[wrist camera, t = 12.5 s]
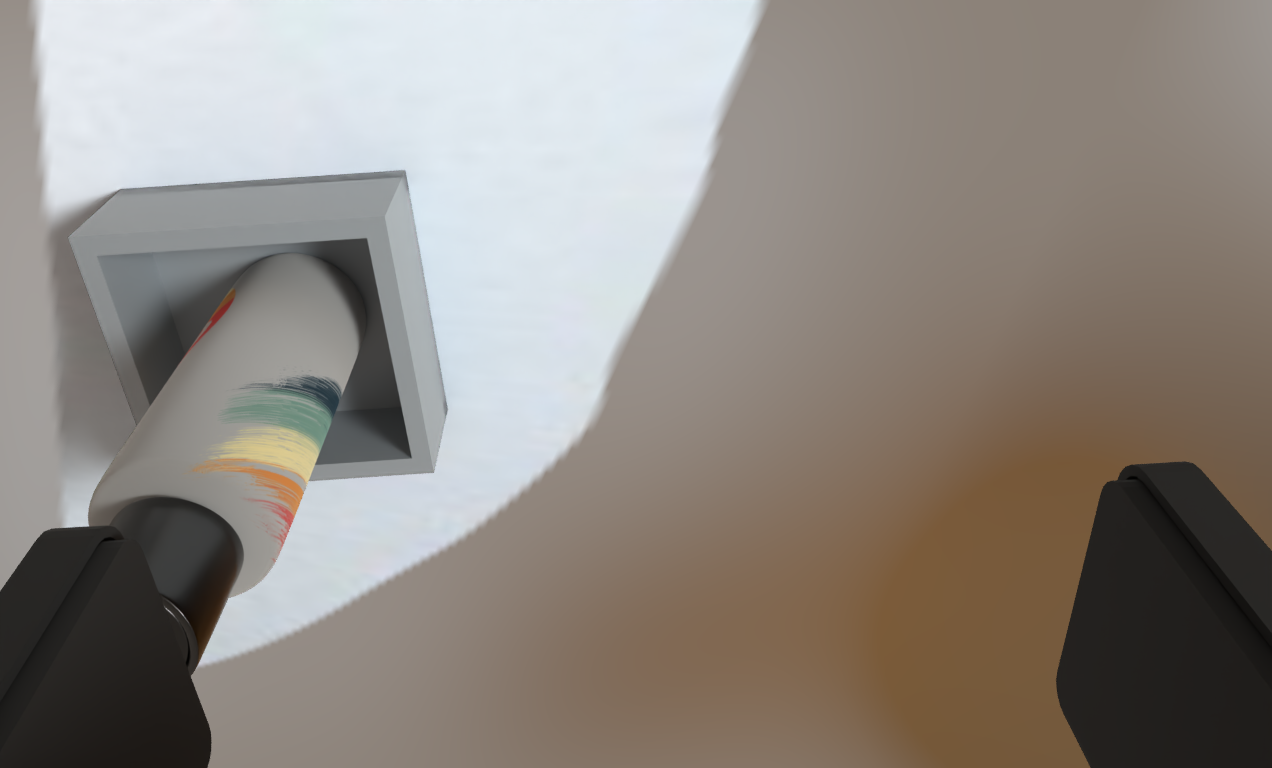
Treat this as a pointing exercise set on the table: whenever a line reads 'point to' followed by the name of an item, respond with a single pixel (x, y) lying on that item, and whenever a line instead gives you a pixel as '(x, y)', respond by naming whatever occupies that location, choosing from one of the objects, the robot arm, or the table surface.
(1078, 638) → the robot arm
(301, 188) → the box
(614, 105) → the table surface
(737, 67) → the table surface
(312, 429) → the lotion bottle
